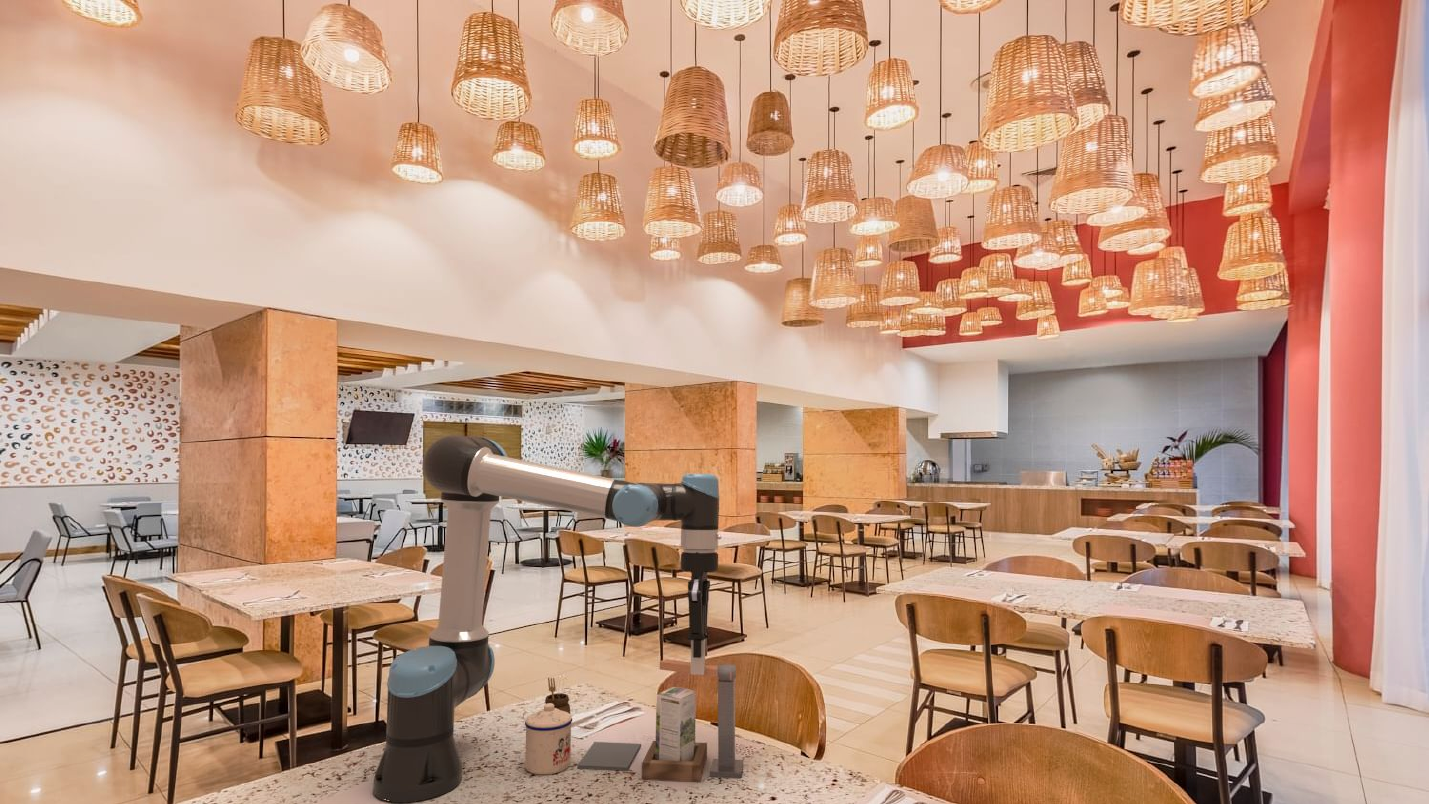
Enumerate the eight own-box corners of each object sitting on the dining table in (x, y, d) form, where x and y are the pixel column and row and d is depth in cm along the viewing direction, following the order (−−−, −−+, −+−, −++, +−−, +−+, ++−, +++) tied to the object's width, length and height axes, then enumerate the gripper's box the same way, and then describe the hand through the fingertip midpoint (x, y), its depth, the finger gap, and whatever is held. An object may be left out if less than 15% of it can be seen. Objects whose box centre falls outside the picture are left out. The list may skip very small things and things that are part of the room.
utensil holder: (574, 725, 161) (575, 670, 162) (562, 735, 155) (563, 678, 156) (550, 723, 162) (551, 669, 164) (537, 733, 156) (538, 676, 158)
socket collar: (641, 779, 133) (641, 762, 133) (653, 755, 144) (653, 740, 144) (700, 782, 132) (699, 765, 132) (707, 758, 143) (707, 742, 143)
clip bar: (658, 670, 143) (658, 659, 143) (667, 665, 146) (667, 655, 147) (731, 680, 136) (731, 669, 136) (738, 675, 139) (738, 665, 139)
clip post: (709, 776, 134) (709, 683, 136) (713, 763, 140) (713, 674, 142) (741, 778, 133) (740, 684, 135) (743, 765, 139) (743, 675, 141)
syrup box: (670, 760, 142) (671, 685, 143) (696, 766, 139) (696, 689, 140) (654, 770, 137) (655, 693, 138) (680, 777, 134) (680, 697, 135)
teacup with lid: (560, 777, 134) (562, 713, 135) (515, 774, 135) (517, 710, 136) (583, 752, 145) (584, 694, 147) (541, 749, 147) (543, 691, 148)
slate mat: (577, 768, 138) (577, 765, 138) (594, 744, 150) (594, 741, 150) (627, 770, 137) (627, 767, 137) (640, 746, 149) (640, 743, 149)
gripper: (714, 553, 135) (712, 682, 132) (721, 549, 148) (720, 667, 144) (675, 552, 136) (672, 681, 133) (686, 548, 149) (684, 666, 145)
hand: (697, 673), depth 139 cm, fingers closed
